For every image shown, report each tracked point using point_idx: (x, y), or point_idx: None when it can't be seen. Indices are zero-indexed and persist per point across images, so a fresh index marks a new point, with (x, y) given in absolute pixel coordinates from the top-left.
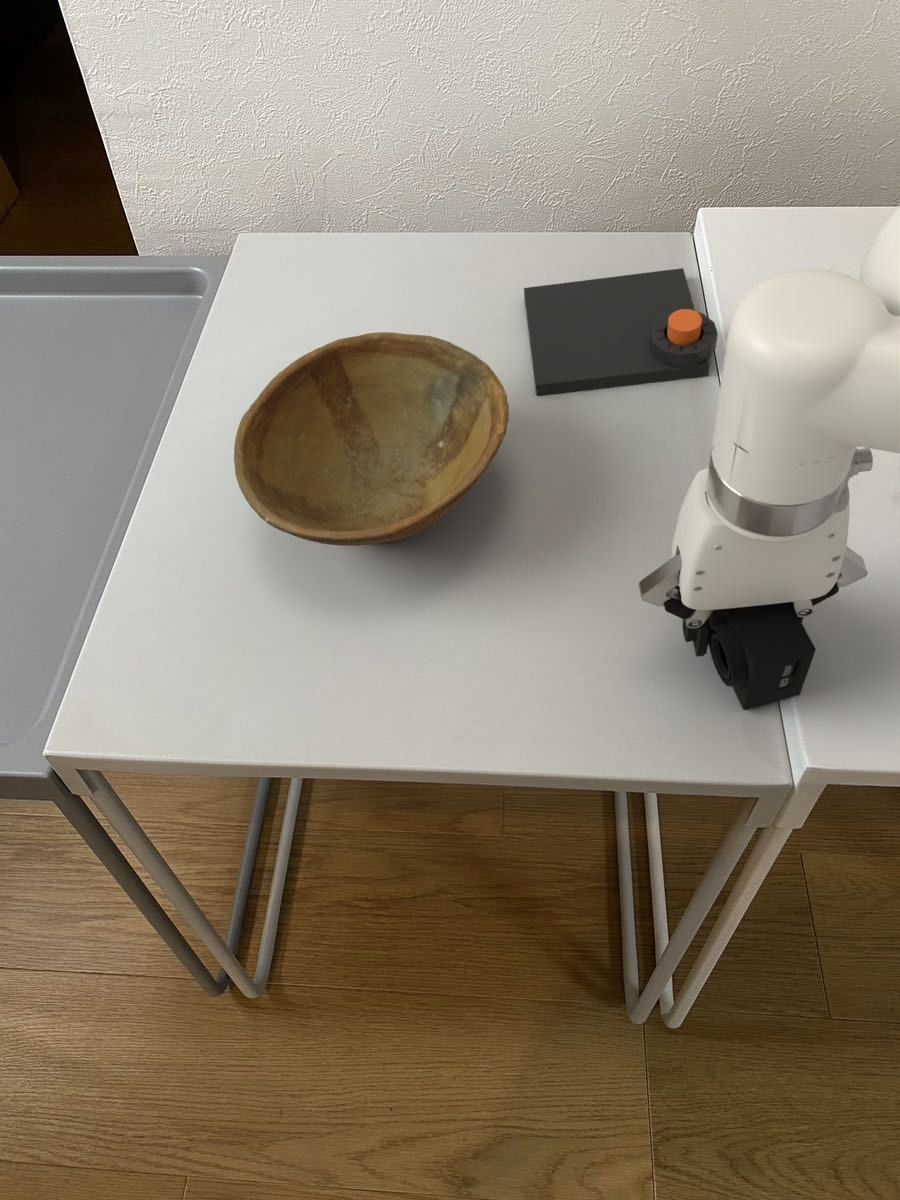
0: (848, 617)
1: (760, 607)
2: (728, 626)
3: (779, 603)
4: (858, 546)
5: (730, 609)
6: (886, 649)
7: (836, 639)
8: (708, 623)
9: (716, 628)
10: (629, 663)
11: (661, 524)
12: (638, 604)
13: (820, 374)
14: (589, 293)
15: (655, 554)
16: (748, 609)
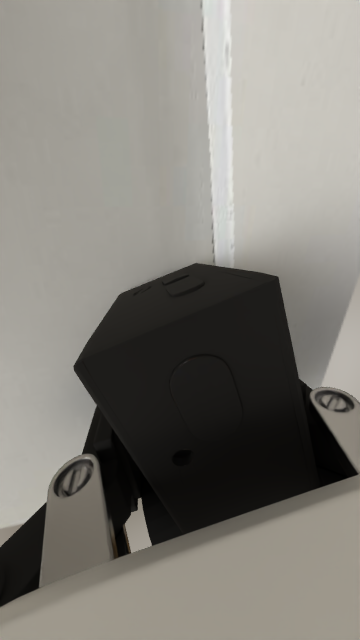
0: (311, 300)
1: (254, 509)
2: (178, 534)
3: (296, 489)
4: (357, 177)
5: (185, 528)
6: (334, 337)
7: (291, 332)
8: (137, 492)
9: (153, 536)
10: (42, 402)
11: (35, 99)
12: (31, 307)
13: None
14: None
15: (39, 192)
16: (227, 517)
